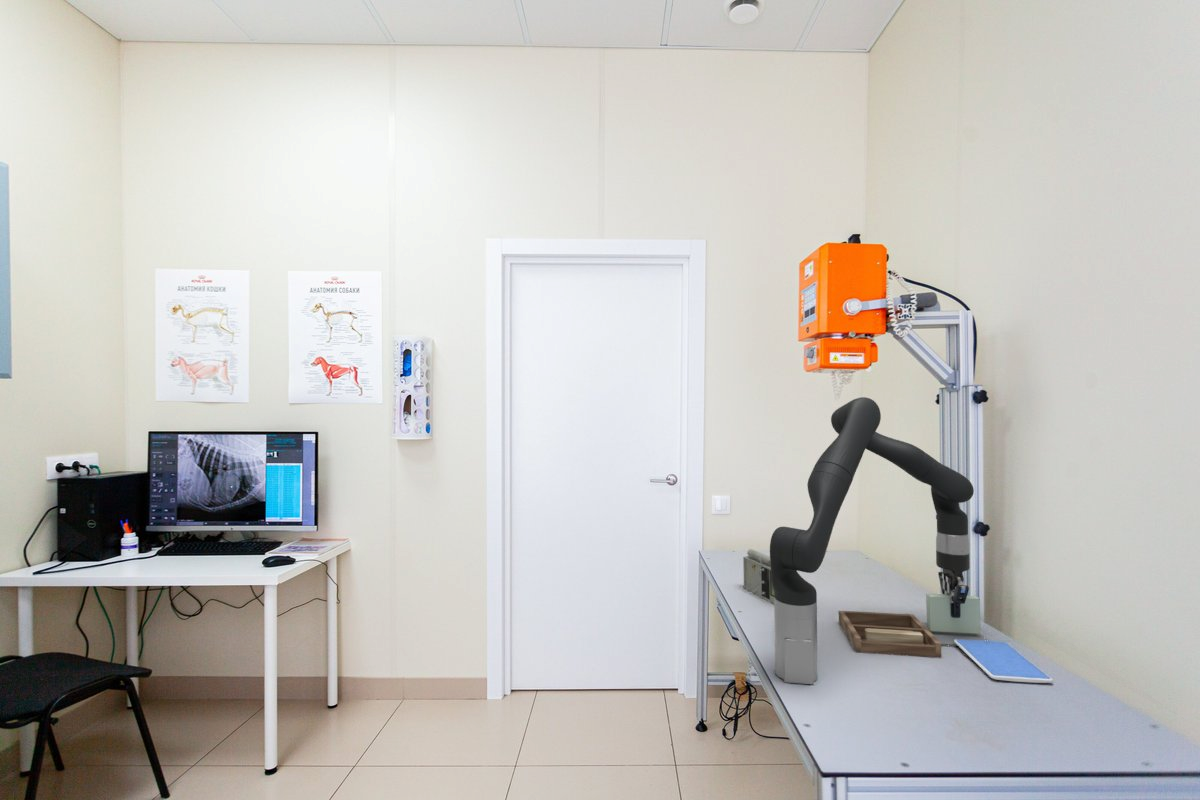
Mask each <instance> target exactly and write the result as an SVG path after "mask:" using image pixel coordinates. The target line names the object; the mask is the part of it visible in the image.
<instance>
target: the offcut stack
mask: <svg viewBox="0 0 1200 800" xmlns="http://www.w3.org/2000/svg"><path fill="white" fill-rule="evenodd" d="M864 641H877V642H893V643H908V644H923V635H922V633H921V632H913V631H905V630H889V629H872V628H867V629H865V640H864Z"/></svg>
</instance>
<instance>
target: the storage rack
mask: <svg viewBox="0 0 1200 800" xmlns="http://www.w3.org/2000/svg"><path fill="white" fill-rule="evenodd" d="M922 623H923V622H921V621H920V620H919V619H918V617H916V616H915V615H914V614H911V613H909V614H907V613H891V612H873V611H872V612H870V611H857V610H856V611H855V610H854V611H853V610H852V611H851V610H838V625H839V626H840V628H841V629H842V631H843V632H844V634H845V636H846V638H847V640H848V641H849V644H851V646H852V648H853V649H854V651H855V652H856V653H861V652H863V653H865V654H876V653H878V655H879V654H880V655H891V654H893V655H894V656H906V655H908V656H907V657H910V656H911V657H923V658H924V657H925V658H935V657H941V658H942V646H941V643H940V642H939V641H938V640H937V638H936V637H935V636H934V635H933V634H932V633H931V632H930V631H929V630H928V629H927V628H926V627H925V626H924V625H923V624H922ZM867 628H872V629H889V630H905V631H913V632H921V633H922V635H923V644H908V643H893V642H877V641H865V629H867ZM863 653H862V654H863Z"/></svg>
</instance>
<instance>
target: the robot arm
mask: <svg viewBox="0 0 1200 800" xmlns="http://www.w3.org/2000/svg"><path fill="white" fill-rule="evenodd" d="M881 415H882V414H881V409H880V407H879V405H878V403H877V402H876V401H875V400H873V399H871V398H869V397H865V396H864V397H863V396H862V397H857V398H854V399H852V400H850V401H848V402H847V403H845V404H843V405H842V406H840V407H838V408H837V409H836V410H834V411H833V413H832V415H831V417H830V423H831V426H832V429H833V430H834V431H835V433H836V434H838V435H837V437H836V438H835V439H834V440H833V441H832V442H831V444H830V445H829V446H828V447H827V448H826V449H825V450H824V451H823V452H822V454H821V455H820V456H819V457H818V459H817V460H816V462H815V464H814V466H813V469H812V471H811V473H810V474H809V477H808V481H807V492H808V496H809V499H810V503H811V505H812V508H813V509H812V510H813V517H812V520H811V523H810V525H809V528H807V529H801V528H795V527H788V526H779V527H777V528H776V529H775V530H773V533H772V534H771V538H770V544H769V556H770V564H771V581H772V586H773V589H774V604H773V606H774V609H773V610H774V611H773V612H774V613H773V614H774V618H773V619H774V672H775V674H776V675H777V676H778V677H779V678H781V679H782V680H783V681H784V683H791V684H805V685H815V683H814V682H815V681H817V679H818V676H819V675H818V604H817V603H818V602H817V599H818V597H817V595H818V593H817V589H816V587H815V586H813V584H811V583H809V582H808V581H807V580H806V579H804V578H803V576H801V575H800V574H799V572H802V573H808V574H812V573H815V572H817V570H818V569H820V567H821V565H822V563H823V561H824V559H825V556H826V553H827V549H828V546H829V543H830V539H831V537H832V536H831V535H832V533H833V529H834V526H835V523H836V520H837V518H838V515H839V513H840V510H841V508H842V505H843V503H844V501H845V498H846V496H847V494H848V493H849V490H850V487H851V485H852V483H853V480H854V477H855V475H856V472H857V470H858V467H859V466H860V463H861V460H862V458H863V455H864V453H865V451H866V450H867V451H869V452H871V453H873V454H875V455H877V456H880V457H881V458H883V459H884V460H887V461H889V462H890V463H892V464H894V465H895V466H897V467H898V468H900V469H901V470H903V471H904V473H907V474H908V475H910V476H911V477H912V478H913V479H915V480H917V481H919V482H921V483H923V484H926V485H928V486H930V495H931V499H932V502H933V507H934V509H935V513H936V537H935V557H936V558H935V559H936V560H935V564H936V566H937V568H940V569H942V571H938V572H937V573H938V574H937V575H938V578H939V584H940V588H941V589H940V590H941V594H945V595H950V603H951V617H953V618H960V617H961V613H960V604H965V601H966V597H967V595H968V594H969V590H970V588H969V587H970V586H969V585H967V584H966V585H965V577H964V574H963V573H964V572H966V571H967V572H968V571H969V570H970V568H971V567H970V557H971V556H970V539H969V519H968V514H967V513H966V512H964V510H962V509H961V507H960V504H962V503H966V502H968V501H970V500H971V499H972V498H973V495H974V489H975V488H974V486H973V484H972V482H971V481H970V480H969V479H968V478H967V477H966V476H964V475H963V474H962V473H960V472H957V471H956V470H954V469H953V468H951V467H949V466H946V465H945V464H942V463H941V462H939V461H938V460H937V459H935V458H934V457H932V456H931V455H929V454H928V453H926V452H925V451H924V450H923V449H921V448H919V447H918V446H916V445H914V444H912V443H908V442H906V441H902V440H899V439H895V438H892V437H889V436H886V435H883V434H882V433H879V432H877V429H878V427H879V426H880V424H881V419H882V418H881V417H882V416H881ZM953 595H954V597H953Z"/></svg>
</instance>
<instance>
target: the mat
mask: <svg viewBox="0 0 1200 800" xmlns="http://www.w3.org/2000/svg"><path fill="white" fill-rule="evenodd" d="M921 623H922V624H923V625H924V626H925V627H926V628H927V622H921ZM927 629H928V628H927ZM928 630H929V629H928ZM929 631H930V630H929ZM930 632H931V633H932V634H933V635H934V636H935V637H936V638H937V640H938V641H939V642H940V643H941V645H942V646H941V647H955V646H958V645H956V644H955V643H954V640H955V639H963V640H981V641H985V640H986V641H987V640H988V639H987V638H986V637H985V636H984V635H983V634H982V633H981V634H979V633H961V632H942V631H930ZM984 637H985V639H984ZM948 645H949V646H948Z"/></svg>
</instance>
